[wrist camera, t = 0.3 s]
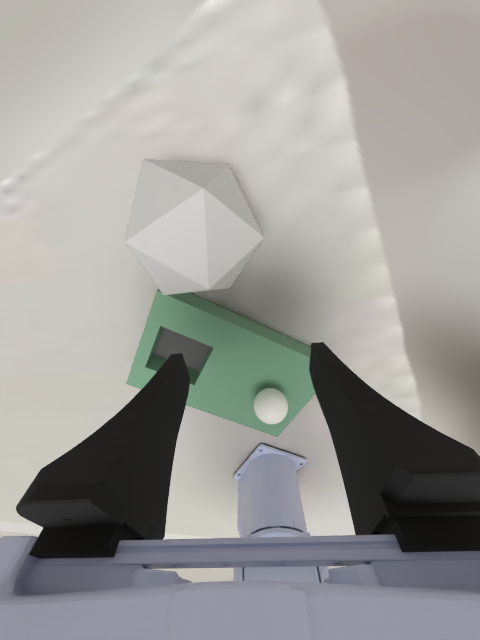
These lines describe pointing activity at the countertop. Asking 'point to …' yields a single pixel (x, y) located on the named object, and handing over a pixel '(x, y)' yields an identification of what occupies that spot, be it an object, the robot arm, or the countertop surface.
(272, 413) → the ball
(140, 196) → the die
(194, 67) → the countertop surface
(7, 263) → the countertop surface
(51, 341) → the countertop surface
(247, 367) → the green
